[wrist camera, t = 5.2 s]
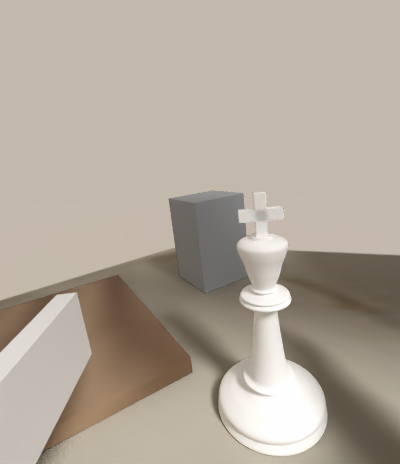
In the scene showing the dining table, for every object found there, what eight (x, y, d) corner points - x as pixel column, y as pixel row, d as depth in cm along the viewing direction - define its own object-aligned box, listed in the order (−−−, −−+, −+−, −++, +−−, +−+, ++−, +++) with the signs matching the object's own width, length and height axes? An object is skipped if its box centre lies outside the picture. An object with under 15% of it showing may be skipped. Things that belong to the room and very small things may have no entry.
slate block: (219, 262, 31) (212, 190, 29) (249, 276, 27) (243, 193, 25) (179, 275, 29) (168, 198, 27) (205, 293, 25) (194, 203, 23)
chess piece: (347, 456, 11) (357, 195, 8) (218, 457, 11) (188, 211, 9) (308, 363, 15) (306, 180, 13) (218, 367, 16) (199, 190, 13)
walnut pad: (119, 284, 28) (117, 274, 28) (192, 371, 16) (190, 357, 15) (-77, 345, 21) (-81, 334, 21) (-230, 595, 9) (-246, 574, 8)
